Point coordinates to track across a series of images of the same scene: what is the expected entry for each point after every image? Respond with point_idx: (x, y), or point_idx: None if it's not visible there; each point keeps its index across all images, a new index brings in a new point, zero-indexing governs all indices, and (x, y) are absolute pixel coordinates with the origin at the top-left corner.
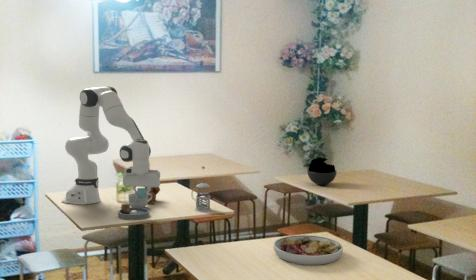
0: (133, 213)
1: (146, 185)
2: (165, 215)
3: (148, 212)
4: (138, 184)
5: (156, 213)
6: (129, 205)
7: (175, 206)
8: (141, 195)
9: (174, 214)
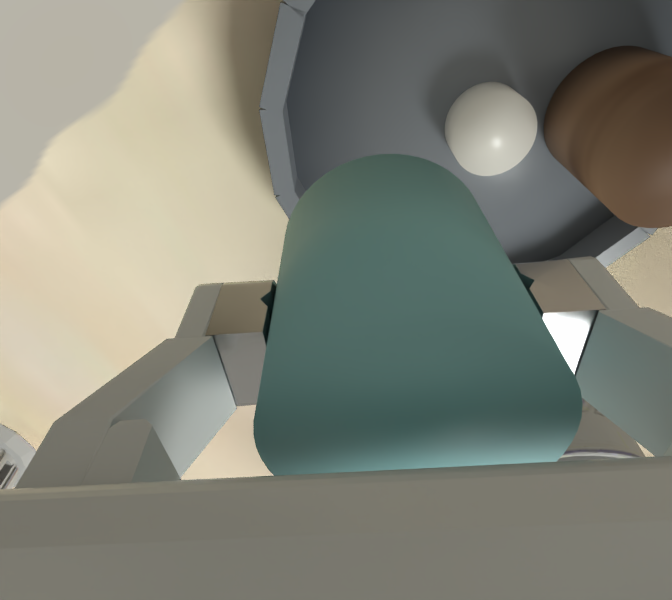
0: (482, 87)
1: (54, 560)
2: (111, 225)
3: (268, 150)
4: (626, 589)
5: (249, 271)
6: (600, 154)
7: (215, 470)
8: (354, 199)
9: (54, 283)
